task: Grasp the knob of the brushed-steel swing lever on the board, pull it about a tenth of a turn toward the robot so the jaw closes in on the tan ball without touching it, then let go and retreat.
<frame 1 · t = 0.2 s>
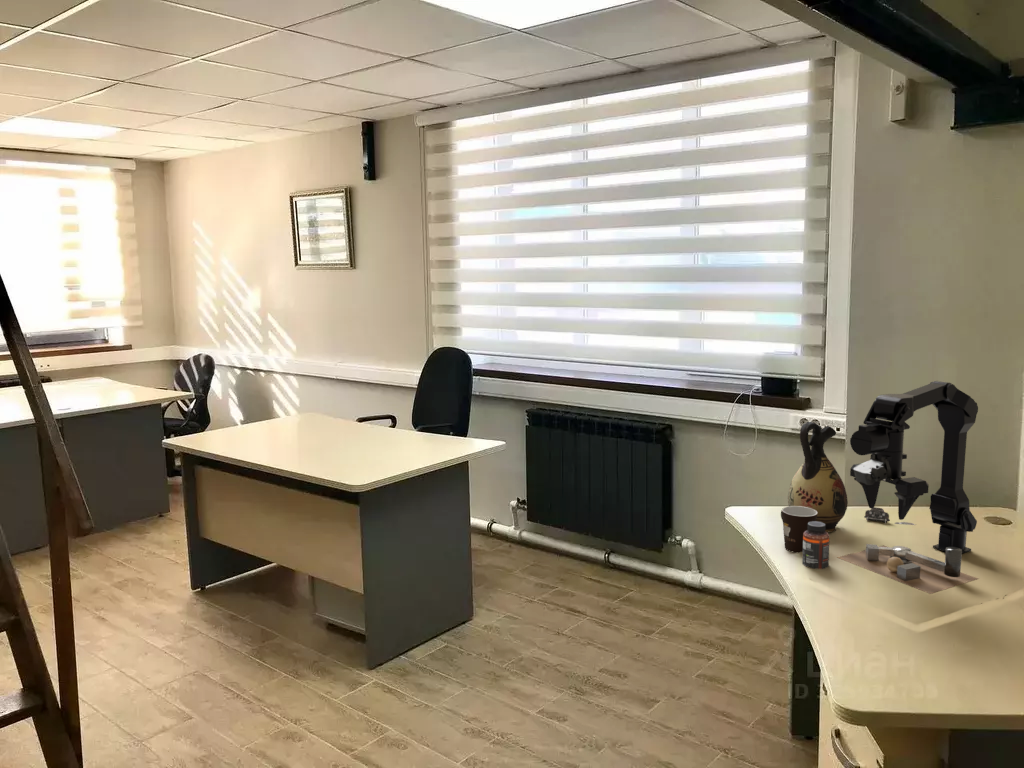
hand: (886, 513, 191), 14 cm above the table, fingers open, 9 cm apart
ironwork: (900, 566, 195), resting on board
ceramic jug: (813, 528, 223), on the table
car cutout: (892, 525, 226), on the table
tan ball: (894, 571, 188), point 1 cm above the table, touching board
coffee mug: (797, 547, 209), on the table
supplement bottle: (814, 569, 194), on the table
board: (904, 572, 191), on the table
lever: (910, 553, 189), point 5 cm above the table, hinge at 0.0°
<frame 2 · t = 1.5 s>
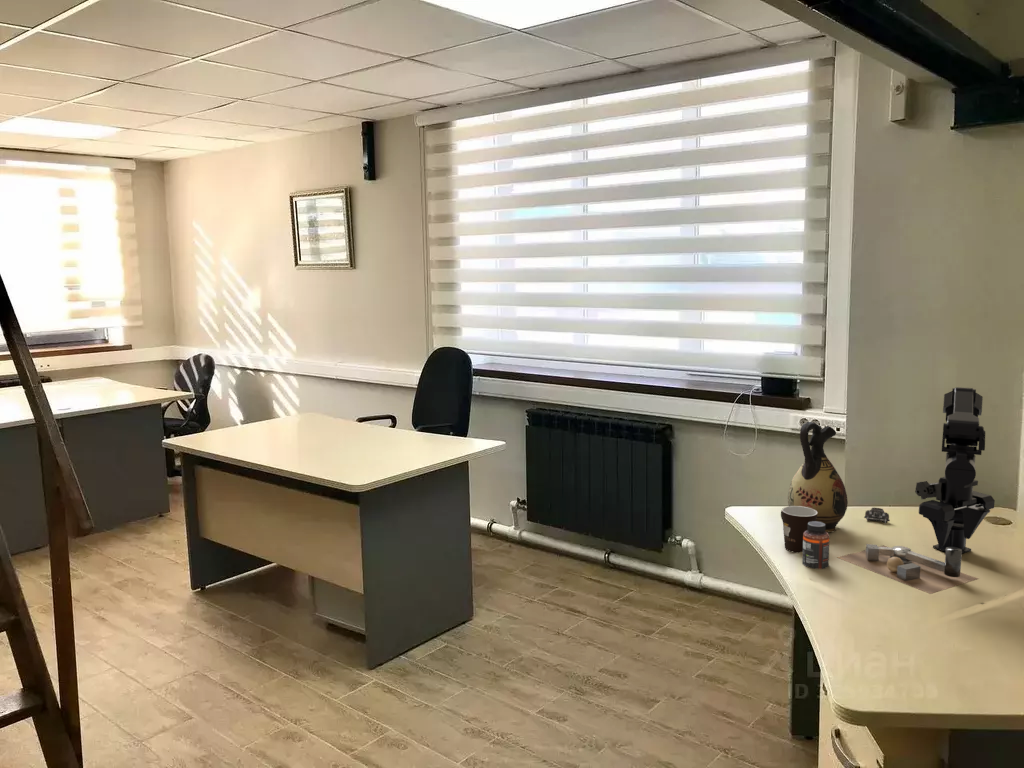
hand: (954, 541, 182), 10 cm above the table, fingers open, 9 cm apart
nothing on the table moved.
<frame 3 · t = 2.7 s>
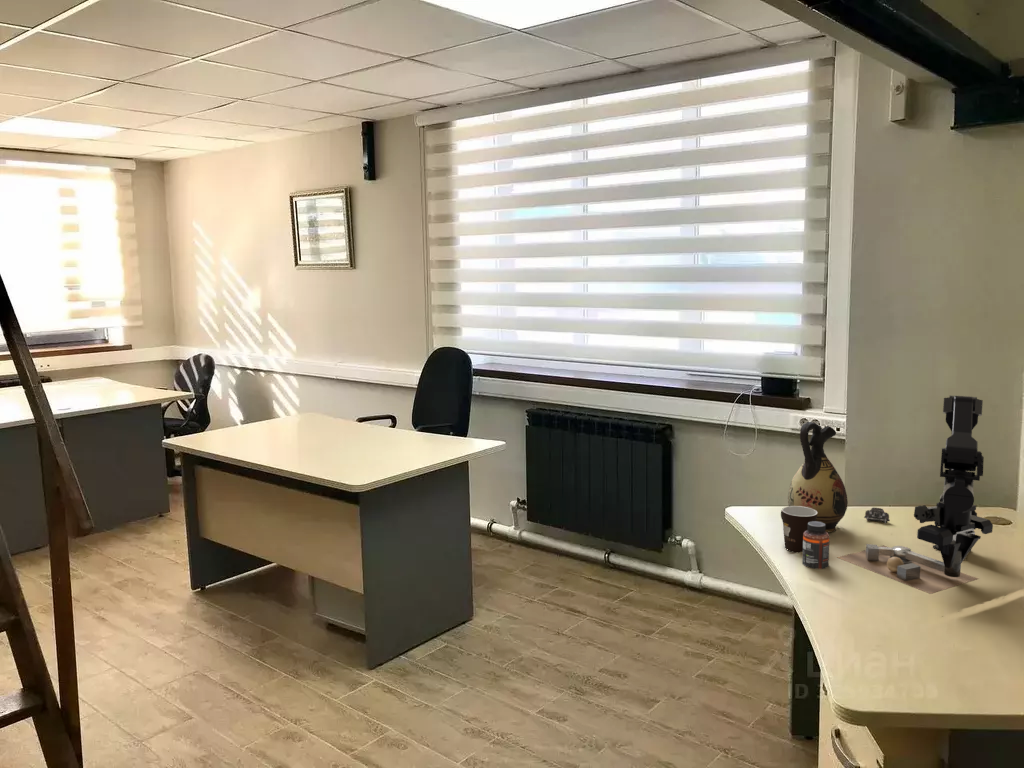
hand: (952, 566, 183), 5 cm above the table, fingers closed on lever, 3 cm apart
lever: (910, 553, 189), point 5 cm above the table, hinge at 0.0°, touching gripper
everything else where it was.
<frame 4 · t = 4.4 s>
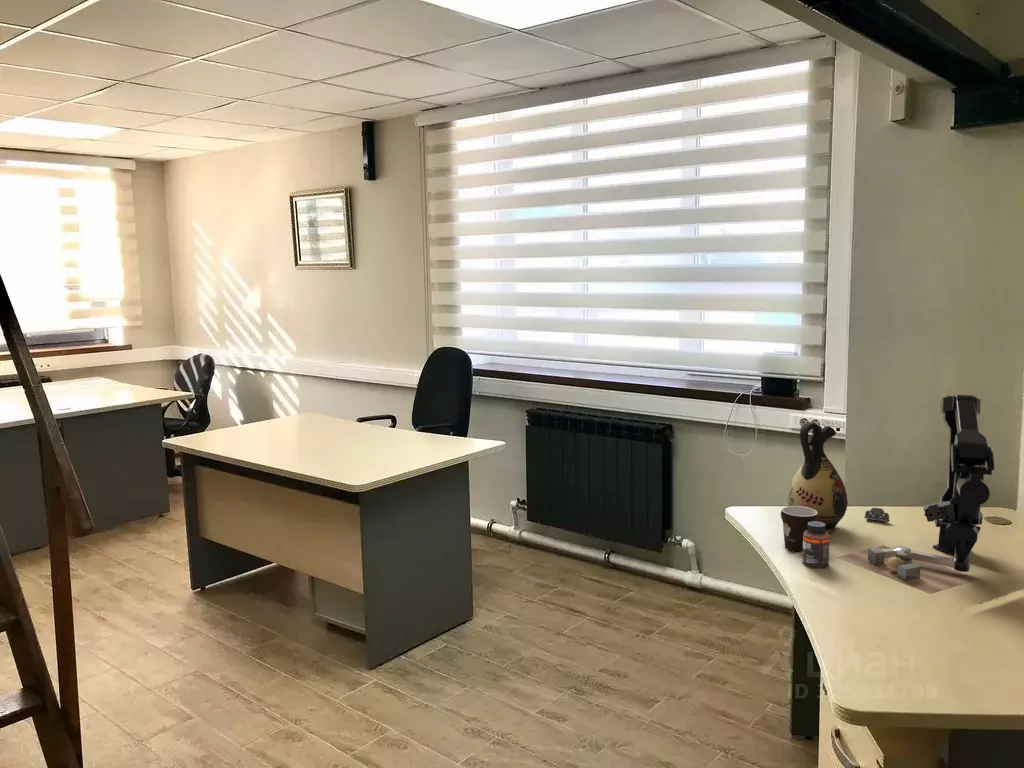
hand: (961, 559, 187), 4 cm above the table, fingers open, 5 cm apart
lever: (917, 553, 190), point 5 cm above the table, hinge at 21.9°, touching gripper
everything else where it was.
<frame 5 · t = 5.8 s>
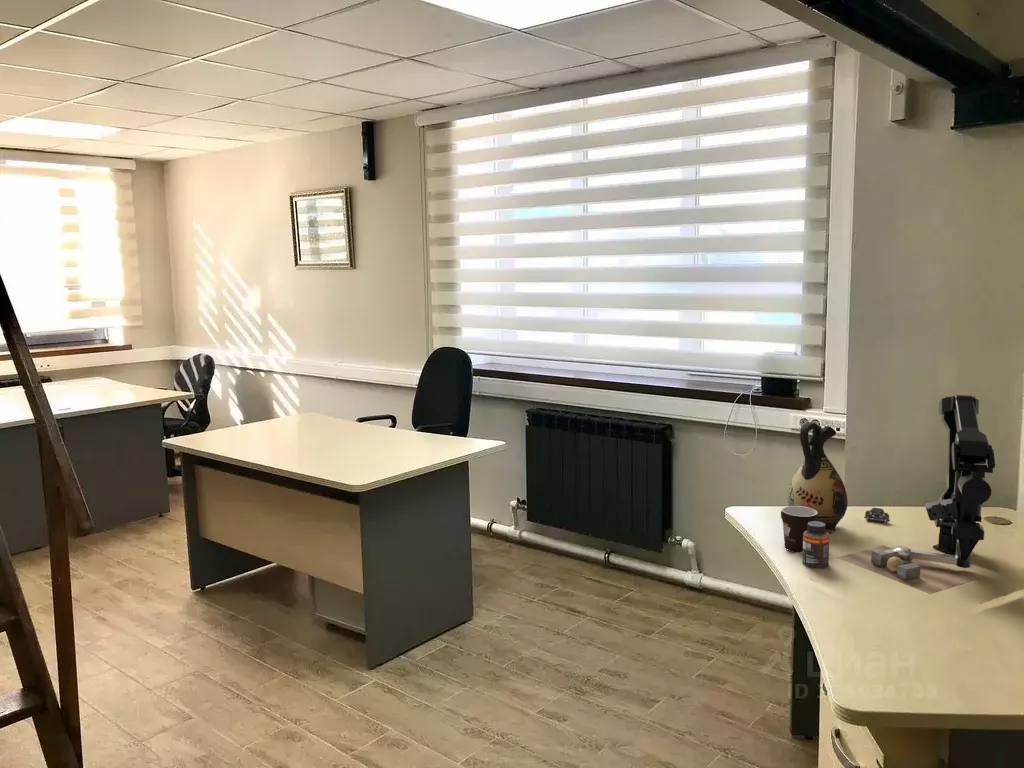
hand: (963, 556, 188), 5 cm above the table, fingers open, 4 cm apart
lever: (920, 552, 190), point 5 cm above the table, hinge at 34.0°, touching gripper
everything else where it was.
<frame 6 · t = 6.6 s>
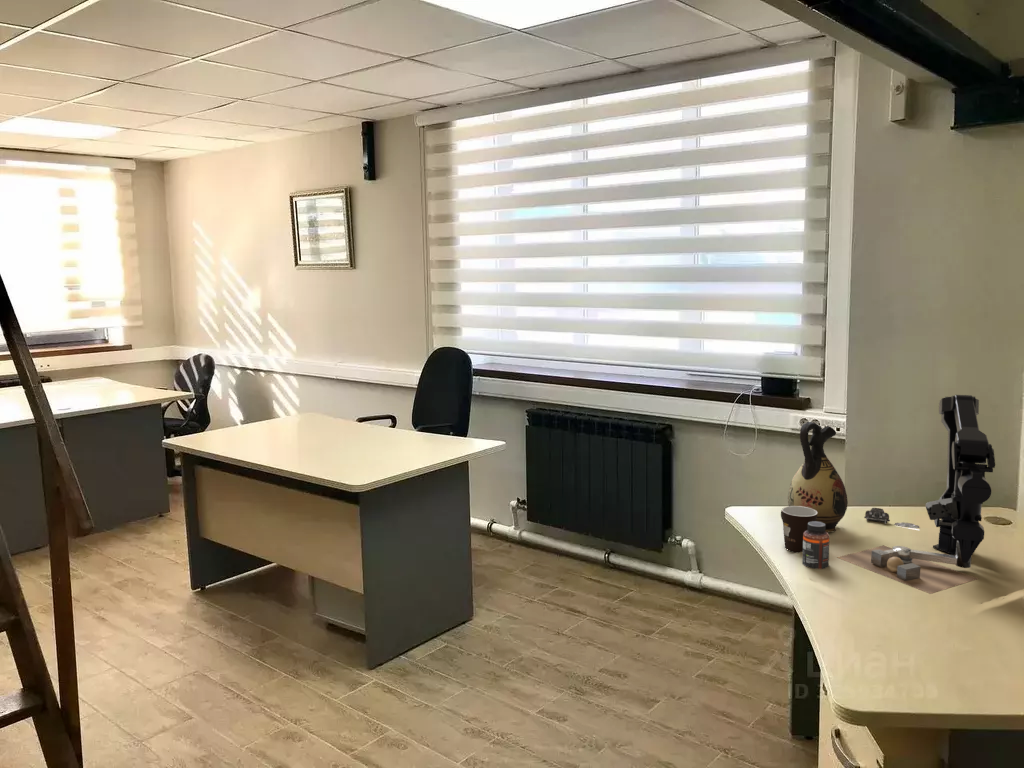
hand: (963, 555, 189), 5 cm above the table, fingers open, 9 cm apart
lever: (920, 552, 190), point 5 cm above the table, hinge at 34.0°
everything else where it was.
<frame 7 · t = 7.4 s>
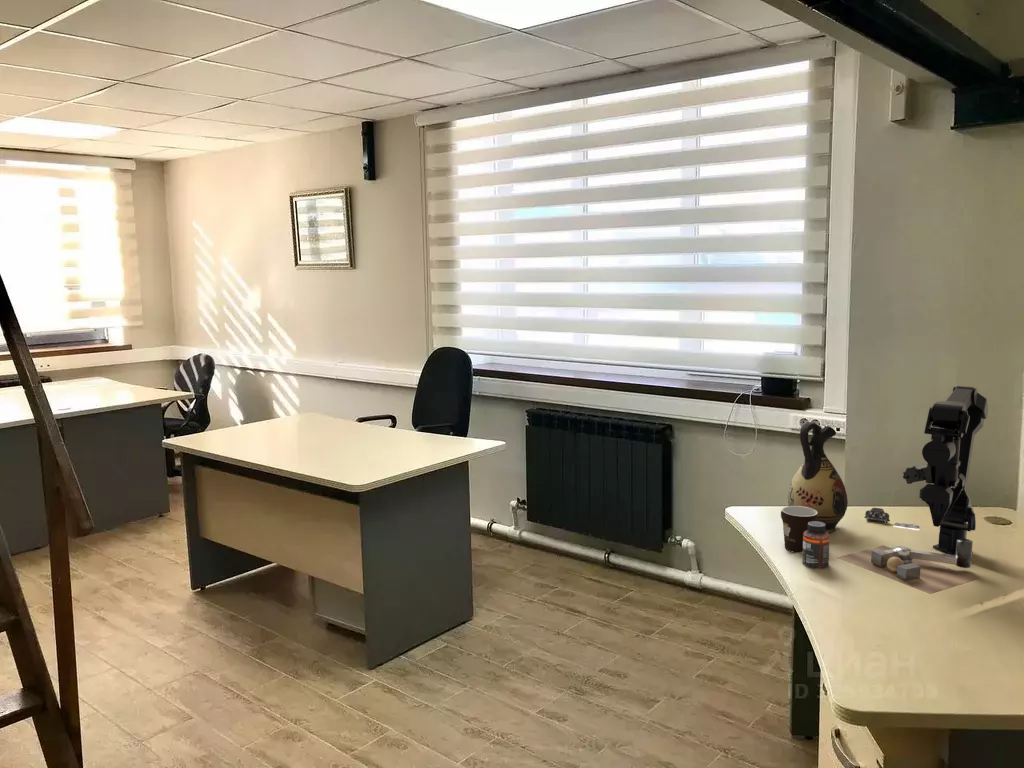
hand: (940, 521, 191), 12 cm above the table, fingers open, 9 cm apart
nothing on the table moved.
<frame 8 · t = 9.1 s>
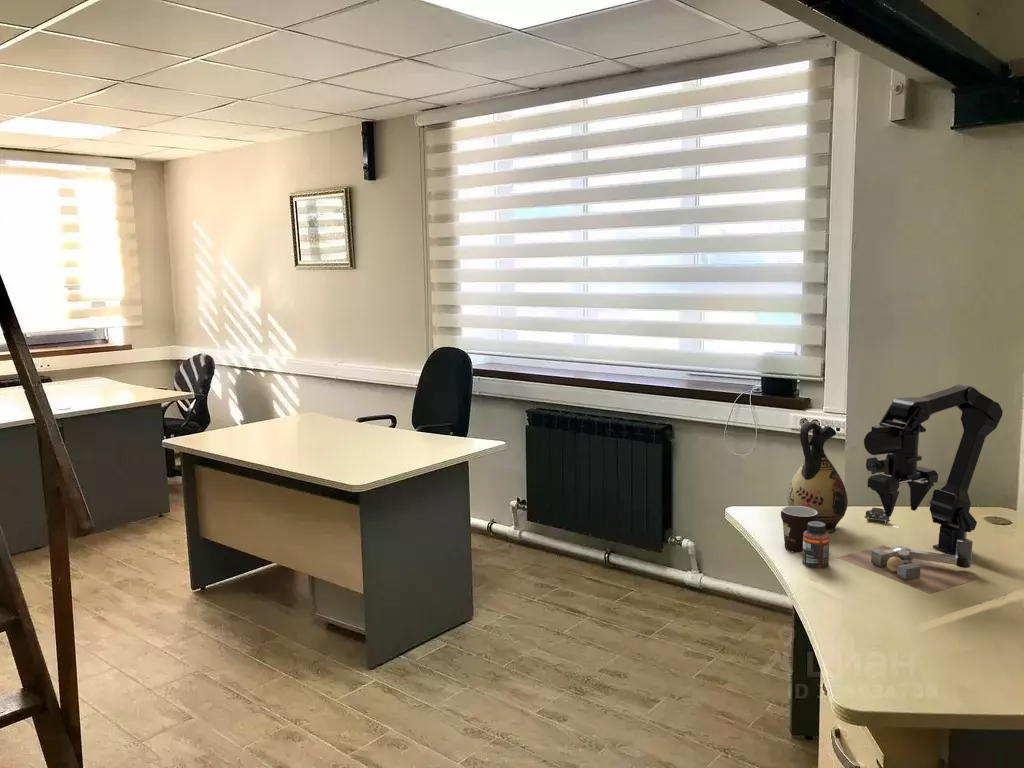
hand: (900, 513, 197), 12 cm above the table, fingers open, 9 cm apart
nothing on the table moved.
at the end: lever at +34° (first picture: +0°); the gripper is holding nothing; tan ball moved 0.0 cm from its start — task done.
